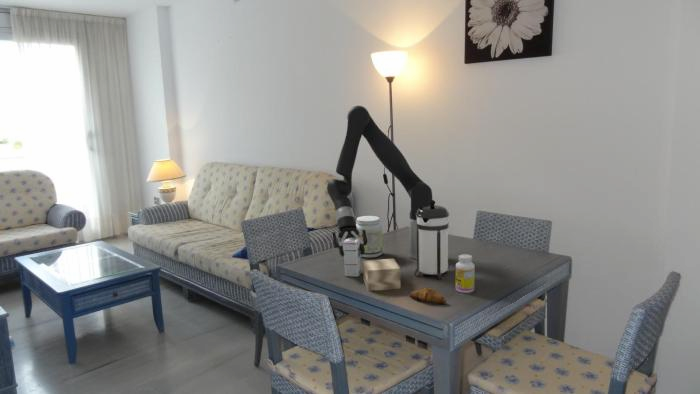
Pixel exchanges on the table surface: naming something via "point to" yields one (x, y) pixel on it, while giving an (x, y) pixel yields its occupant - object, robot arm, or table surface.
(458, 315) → the table surface
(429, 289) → the croissant
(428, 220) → the coffee press
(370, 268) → the riser block
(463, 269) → the supplement bottle
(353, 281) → the table surface
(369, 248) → the supplement tub
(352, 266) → the syrup box
